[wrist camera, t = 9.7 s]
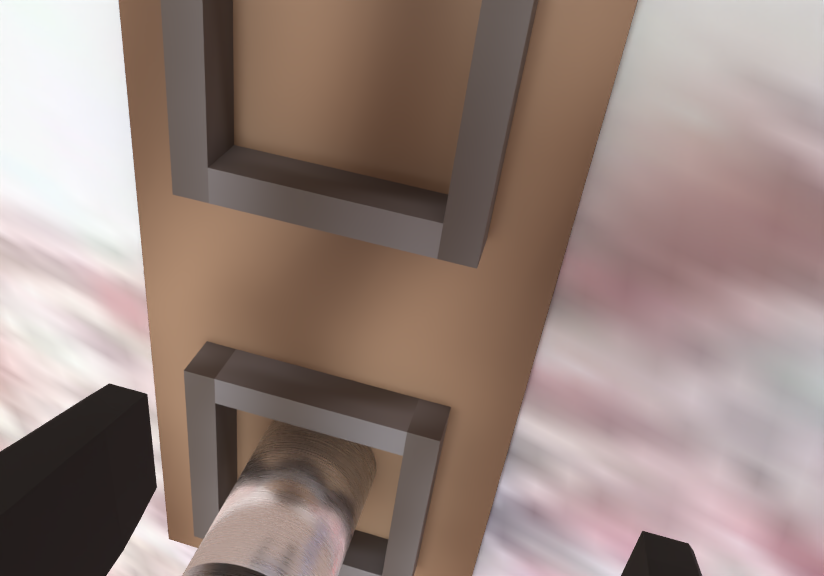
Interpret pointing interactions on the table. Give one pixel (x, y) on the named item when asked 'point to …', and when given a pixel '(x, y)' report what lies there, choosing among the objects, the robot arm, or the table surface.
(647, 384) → the table surface
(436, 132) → the dock board
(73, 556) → the robot arm
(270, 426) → the metal cylinder
